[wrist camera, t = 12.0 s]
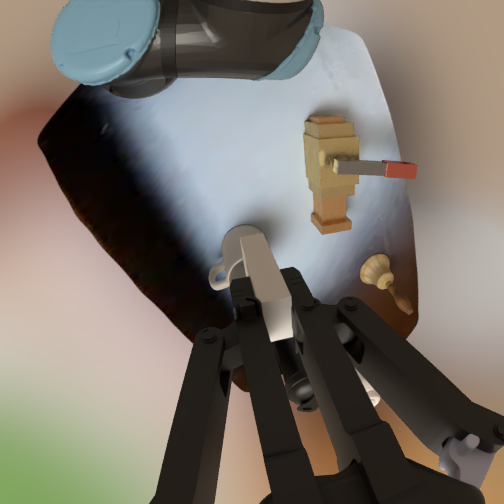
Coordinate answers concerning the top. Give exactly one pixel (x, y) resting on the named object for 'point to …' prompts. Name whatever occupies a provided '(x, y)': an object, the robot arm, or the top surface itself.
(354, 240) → the top surface
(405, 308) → the hand bell
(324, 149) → the valve
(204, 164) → the top surface
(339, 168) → the lever
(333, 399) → the robot arm
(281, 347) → the water bottle
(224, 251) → the mug
